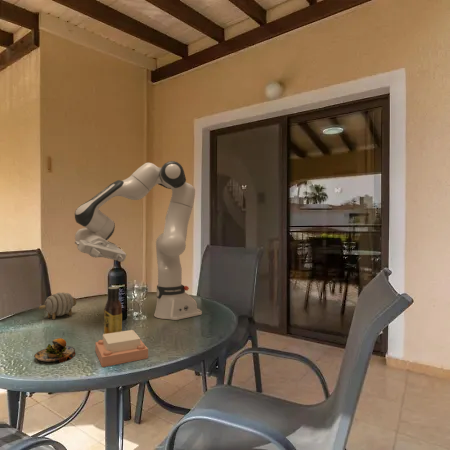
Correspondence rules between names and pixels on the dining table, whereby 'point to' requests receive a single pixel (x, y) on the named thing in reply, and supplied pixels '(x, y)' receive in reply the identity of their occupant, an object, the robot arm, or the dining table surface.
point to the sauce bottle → (113, 312)
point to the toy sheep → (59, 304)
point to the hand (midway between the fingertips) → (110, 257)
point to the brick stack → (120, 348)
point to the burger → (56, 352)
